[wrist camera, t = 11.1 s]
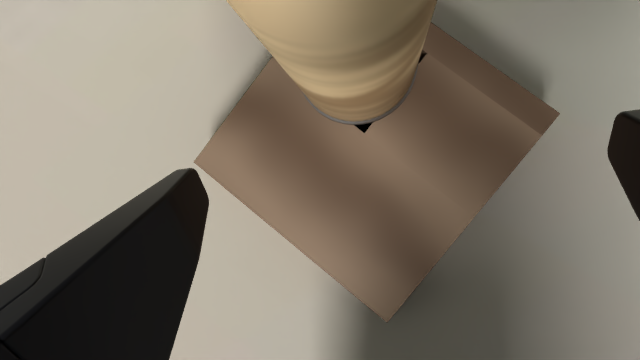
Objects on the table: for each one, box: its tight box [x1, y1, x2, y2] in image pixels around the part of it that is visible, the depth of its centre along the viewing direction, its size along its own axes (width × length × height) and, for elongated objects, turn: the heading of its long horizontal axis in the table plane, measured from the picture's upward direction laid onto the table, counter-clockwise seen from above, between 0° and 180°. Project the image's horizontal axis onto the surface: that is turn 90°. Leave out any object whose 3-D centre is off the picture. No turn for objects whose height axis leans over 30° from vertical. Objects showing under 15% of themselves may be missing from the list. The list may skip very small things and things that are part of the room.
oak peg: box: [226, 0, 437, 125], centre depth 15 cm, size 6×6×13 cm
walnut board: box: [194, 22, 560, 322], centre depth 20 cm, size 12×12×2 cm
